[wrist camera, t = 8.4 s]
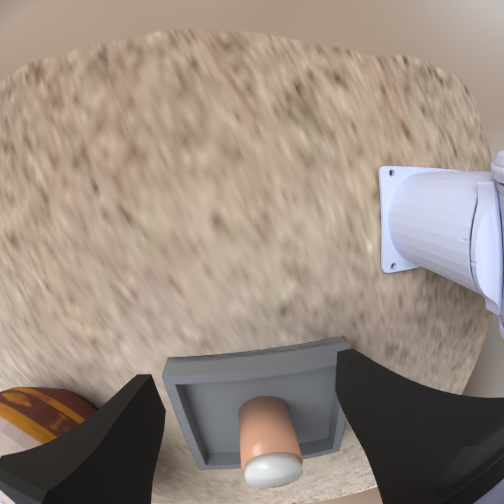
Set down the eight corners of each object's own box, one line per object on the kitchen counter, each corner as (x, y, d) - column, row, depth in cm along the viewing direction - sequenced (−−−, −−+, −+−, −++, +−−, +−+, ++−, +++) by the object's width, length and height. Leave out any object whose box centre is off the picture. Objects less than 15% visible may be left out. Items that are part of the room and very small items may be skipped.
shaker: (278, 388, 20) (294, 454, 13) (295, 418, 21) (312, 477, 14) (229, 406, 20) (230, 471, 14) (251, 433, 21) (257, 493, 15)
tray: (343, 336, 21) (354, 351, 18) (332, 434, 23) (339, 450, 21) (167, 357, 20) (161, 376, 17) (200, 452, 23) (199, 469, 20)
